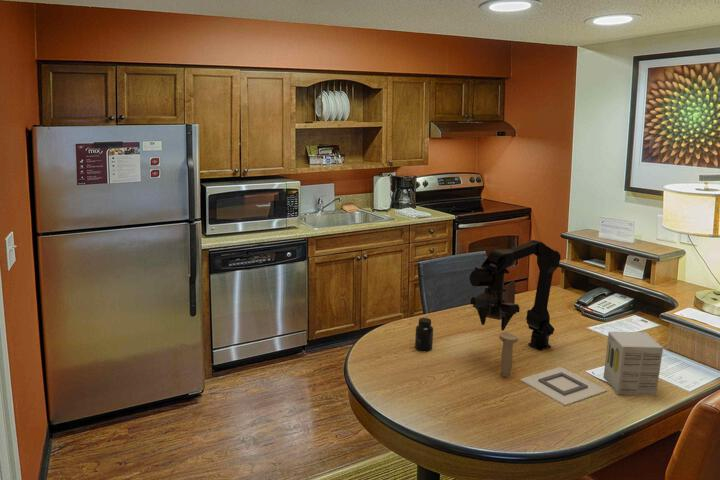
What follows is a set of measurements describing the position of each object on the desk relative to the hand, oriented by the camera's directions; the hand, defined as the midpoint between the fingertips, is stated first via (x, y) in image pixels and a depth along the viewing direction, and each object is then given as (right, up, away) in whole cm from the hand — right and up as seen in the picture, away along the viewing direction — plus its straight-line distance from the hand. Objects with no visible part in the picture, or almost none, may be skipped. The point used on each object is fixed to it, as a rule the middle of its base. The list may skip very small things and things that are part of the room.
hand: (492, 327), depth 215 cm
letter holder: (+15, -1, +56) cm, 58 cm away
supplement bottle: (-24, -11, +15) cm, 30 cm away
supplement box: (+44, -18, -14) cm, 49 cm away
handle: (+3, -16, -7) cm, 18 cm away
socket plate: (+21, -18, -14) cm, 31 cm away
